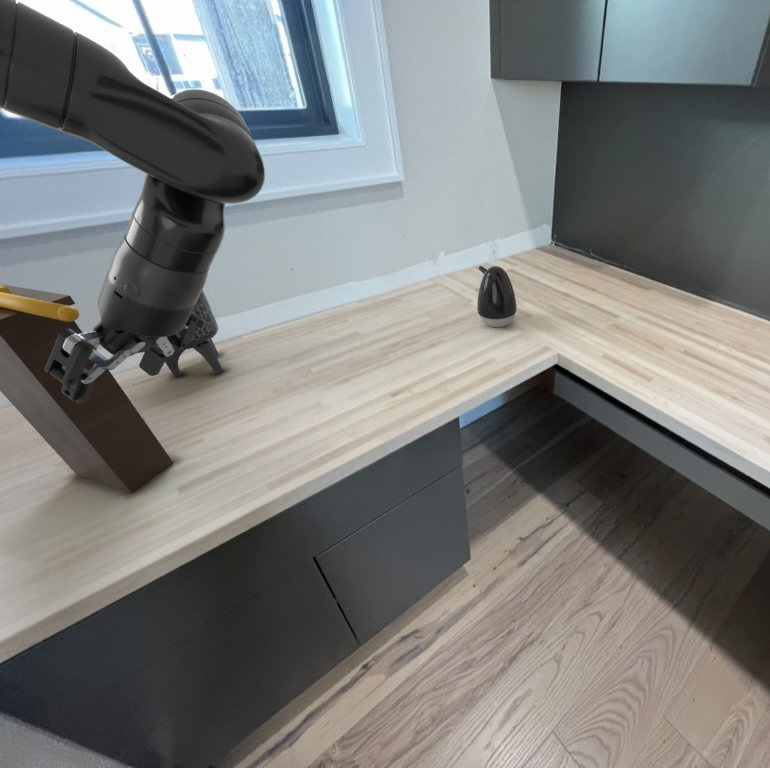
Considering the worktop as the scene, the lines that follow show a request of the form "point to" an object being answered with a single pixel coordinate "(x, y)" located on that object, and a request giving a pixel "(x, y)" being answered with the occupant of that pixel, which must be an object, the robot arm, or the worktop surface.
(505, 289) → the pump dispenser
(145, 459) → the stand
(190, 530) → the worktop surface
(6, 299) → the hammer
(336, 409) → the worktop surface
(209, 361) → the planter
